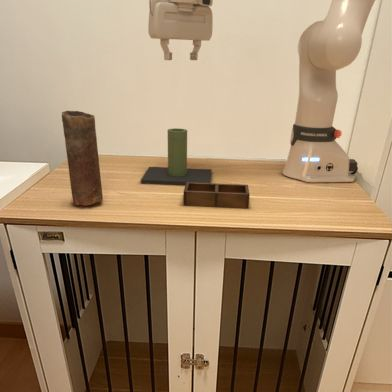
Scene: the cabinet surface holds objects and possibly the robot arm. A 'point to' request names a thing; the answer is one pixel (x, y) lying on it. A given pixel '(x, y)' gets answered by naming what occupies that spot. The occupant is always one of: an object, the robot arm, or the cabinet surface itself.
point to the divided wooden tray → (216, 195)
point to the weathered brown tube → (82, 157)
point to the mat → (161, 177)
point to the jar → (177, 152)
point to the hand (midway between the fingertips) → (181, 60)
